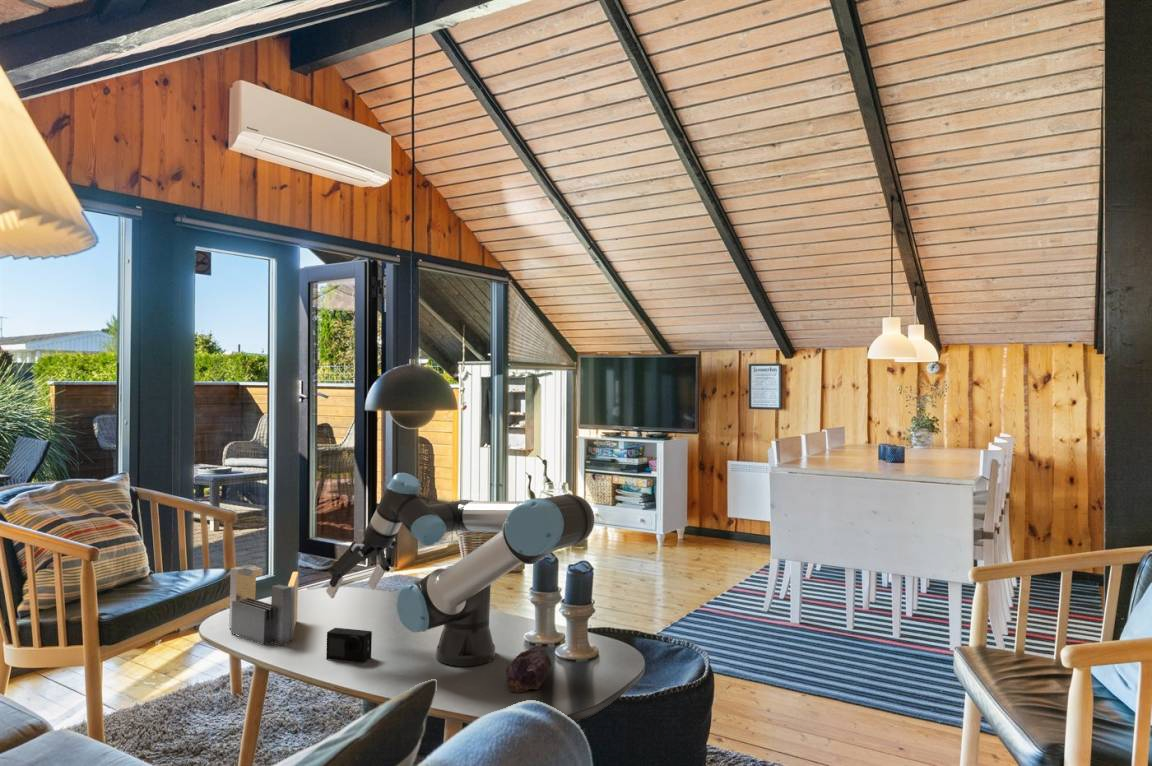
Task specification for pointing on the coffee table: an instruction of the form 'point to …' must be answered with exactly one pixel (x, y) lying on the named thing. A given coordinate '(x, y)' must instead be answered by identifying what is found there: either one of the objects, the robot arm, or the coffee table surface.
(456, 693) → the coffee table surface
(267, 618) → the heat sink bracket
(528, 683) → the rock
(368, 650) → the digital camera
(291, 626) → the orange wooden board
